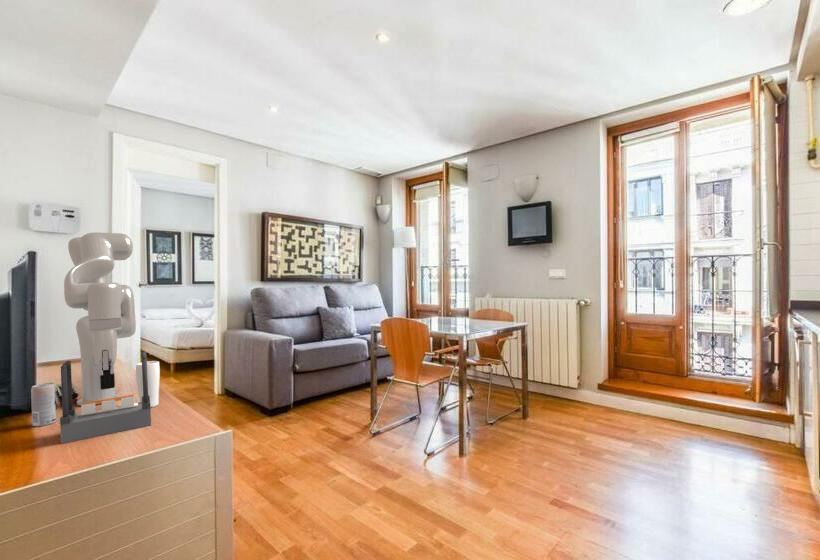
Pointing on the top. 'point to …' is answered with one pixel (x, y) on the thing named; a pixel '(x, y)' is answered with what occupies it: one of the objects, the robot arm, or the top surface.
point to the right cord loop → (145, 383)
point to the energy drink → (43, 404)
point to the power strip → (105, 423)
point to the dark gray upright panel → (66, 394)
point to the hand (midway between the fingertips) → (107, 388)
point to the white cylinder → (149, 381)
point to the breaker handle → (107, 405)
